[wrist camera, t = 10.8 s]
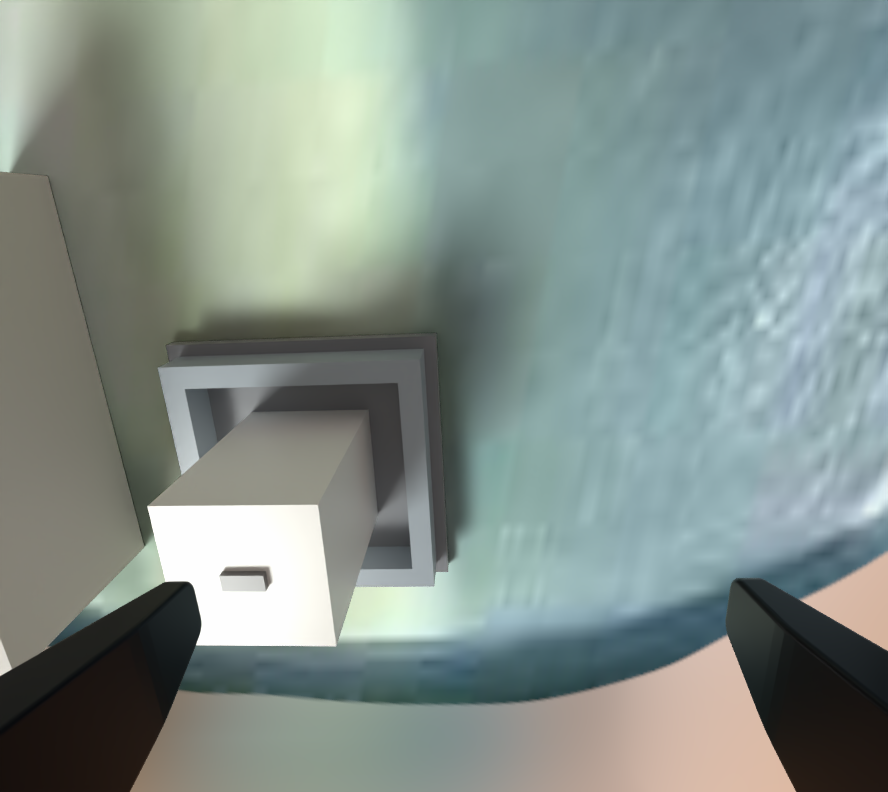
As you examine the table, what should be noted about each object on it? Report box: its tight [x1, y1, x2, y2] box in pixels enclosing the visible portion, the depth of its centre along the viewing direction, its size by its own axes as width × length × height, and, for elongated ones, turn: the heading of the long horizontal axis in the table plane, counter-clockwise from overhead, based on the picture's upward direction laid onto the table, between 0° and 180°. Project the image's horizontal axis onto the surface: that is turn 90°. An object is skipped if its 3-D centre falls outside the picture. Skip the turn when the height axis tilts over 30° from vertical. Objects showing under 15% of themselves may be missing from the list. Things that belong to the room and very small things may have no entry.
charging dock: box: [158, 333, 449, 587], centre depth 21 cm, size 10×10×2 cm
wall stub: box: [0, 172, 144, 676], centre depth 18 cm, size 2×15×7 cm, turn 2°
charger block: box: [147, 410, 378, 646], centre depth 18 cm, size 4×4×7 cm
